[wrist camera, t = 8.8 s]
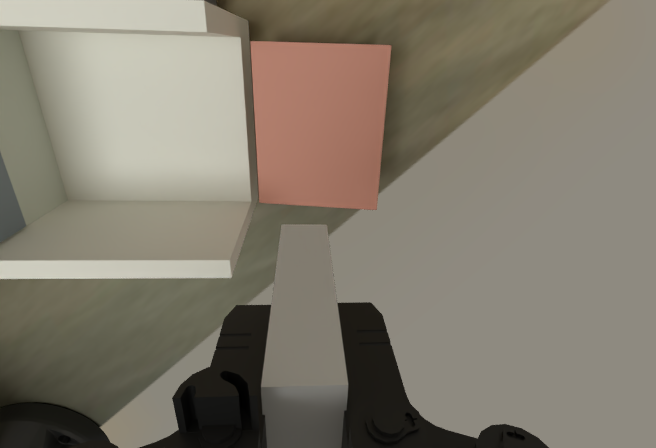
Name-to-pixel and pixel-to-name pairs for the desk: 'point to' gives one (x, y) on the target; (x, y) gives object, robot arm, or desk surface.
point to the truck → (124, 139)
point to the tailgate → (319, 122)
